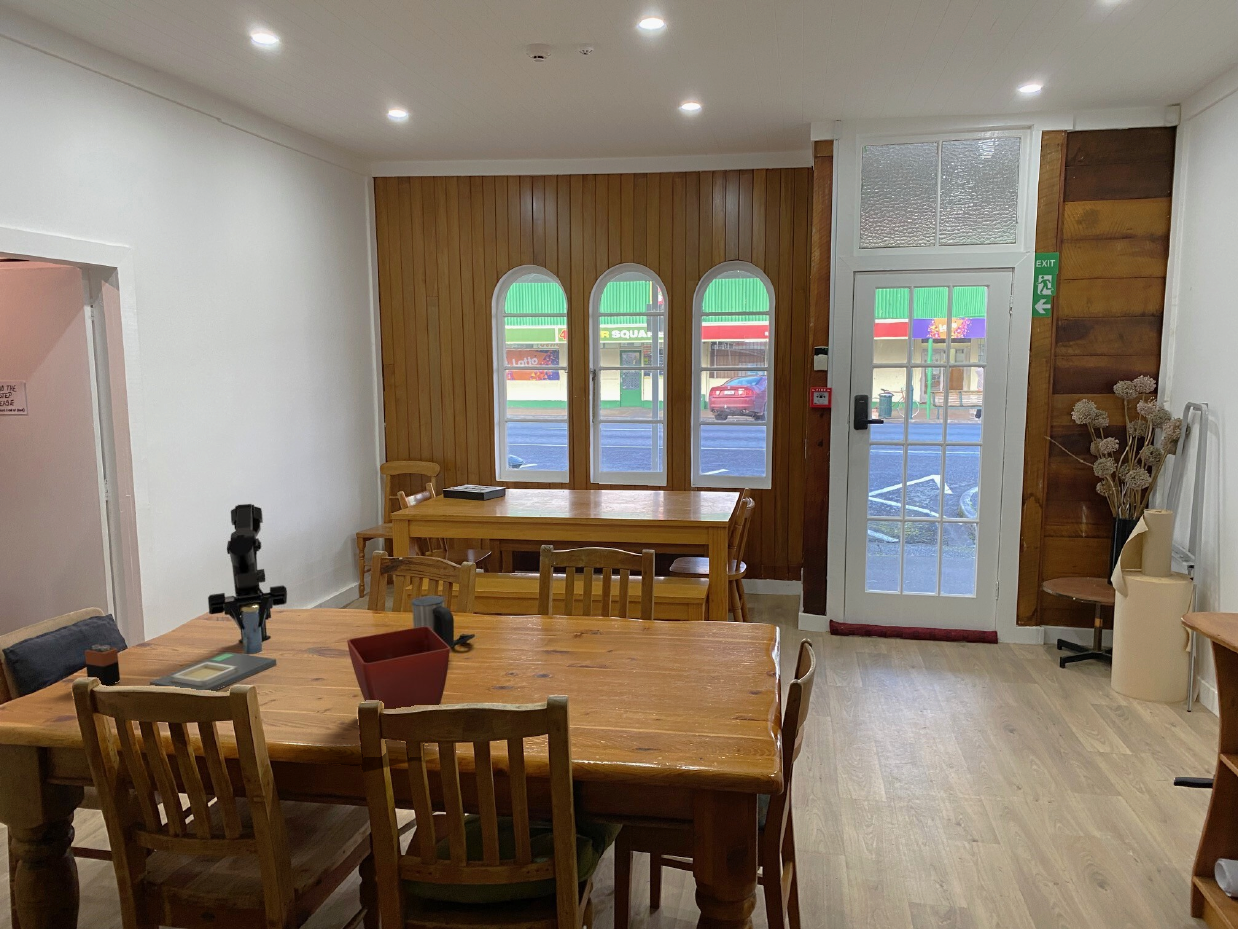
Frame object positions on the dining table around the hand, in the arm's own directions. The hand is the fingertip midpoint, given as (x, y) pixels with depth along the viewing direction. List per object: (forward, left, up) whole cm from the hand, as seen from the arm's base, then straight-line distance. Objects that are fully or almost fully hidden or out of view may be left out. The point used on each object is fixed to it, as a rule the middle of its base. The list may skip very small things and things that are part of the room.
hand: (251, 628), depth 222 cm
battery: (+16, -35, -14) cm, 41 cm away
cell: (-1, -1, -7) cm, 7 cm away
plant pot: (+6, +50, -14) cm, 52 cm away
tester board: (+2, -12, -13) cm, 18 cm away
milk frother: (-36, +33, -14) cm, 51 cm away
